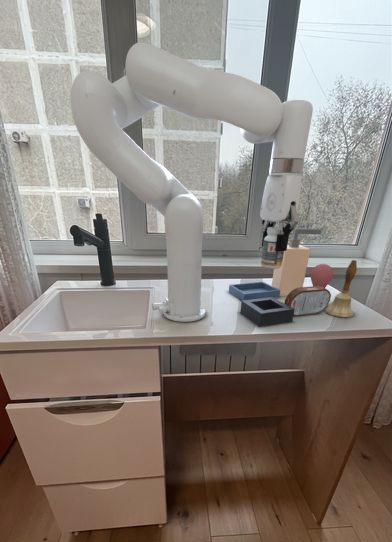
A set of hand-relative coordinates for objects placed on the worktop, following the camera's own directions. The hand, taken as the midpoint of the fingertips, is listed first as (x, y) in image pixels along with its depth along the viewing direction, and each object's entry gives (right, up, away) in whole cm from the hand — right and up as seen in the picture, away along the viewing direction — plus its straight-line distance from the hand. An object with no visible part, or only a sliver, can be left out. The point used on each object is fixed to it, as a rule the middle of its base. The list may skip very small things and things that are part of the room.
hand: (273, 248), depth 76 cm
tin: (+13, -16, +12) cm, 24 cm away
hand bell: (+24, -16, +13) cm, 32 cm away
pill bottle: (0, -5, +2) cm, 5 cm away
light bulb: (+22, -9, +25) cm, 34 cm away
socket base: (0, -18, +9) cm, 20 cm away
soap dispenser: (+15, -6, +31) cm, 35 cm away
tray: (0, -7, +27) cm, 28 cm away
